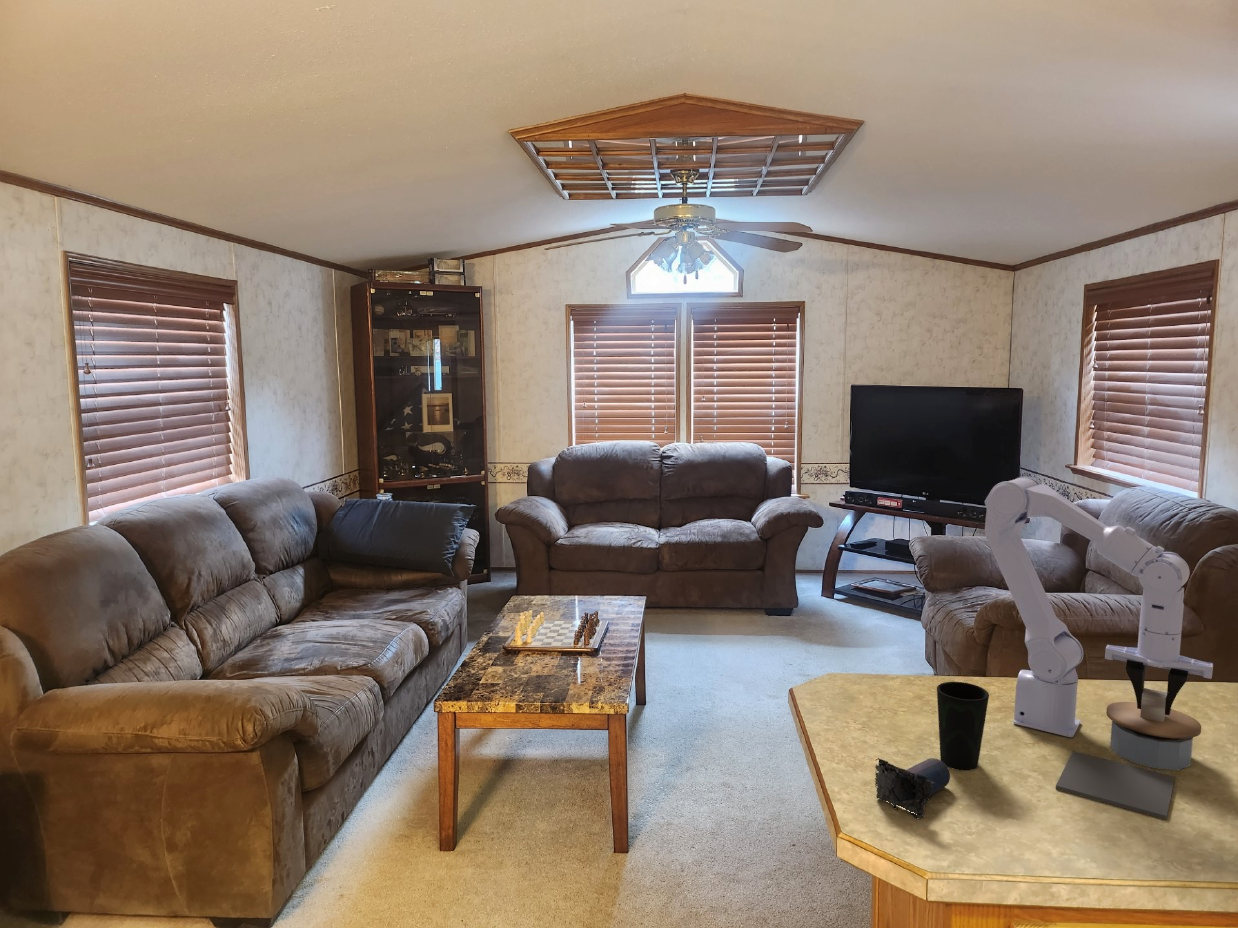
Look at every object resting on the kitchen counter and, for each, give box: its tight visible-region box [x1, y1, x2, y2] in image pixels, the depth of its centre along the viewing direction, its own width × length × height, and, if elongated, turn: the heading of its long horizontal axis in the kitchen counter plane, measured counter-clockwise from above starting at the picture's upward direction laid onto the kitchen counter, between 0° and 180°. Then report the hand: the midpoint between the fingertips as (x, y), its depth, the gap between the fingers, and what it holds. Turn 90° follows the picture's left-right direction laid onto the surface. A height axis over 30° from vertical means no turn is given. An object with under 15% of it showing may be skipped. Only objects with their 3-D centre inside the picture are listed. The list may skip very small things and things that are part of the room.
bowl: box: [1109, 720, 1194, 771], centre depth 137 cm, size 11×11×4 cm
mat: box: [1055, 750, 1176, 821], centre depth 128 cm, size 14×14×1 cm
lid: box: [1105, 687, 1202, 739], centre depth 136 cm, size 13×13×5 cm
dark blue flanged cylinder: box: [874, 757, 951, 819], centre depth 124 cm, size 9×8×12 cm
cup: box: [936, 681, 990, 772], centre depth 134 cm, size 8×8×12 cm
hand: (1153, 709), depth 137 cm, fingers closed on lid, 3 cm apart
